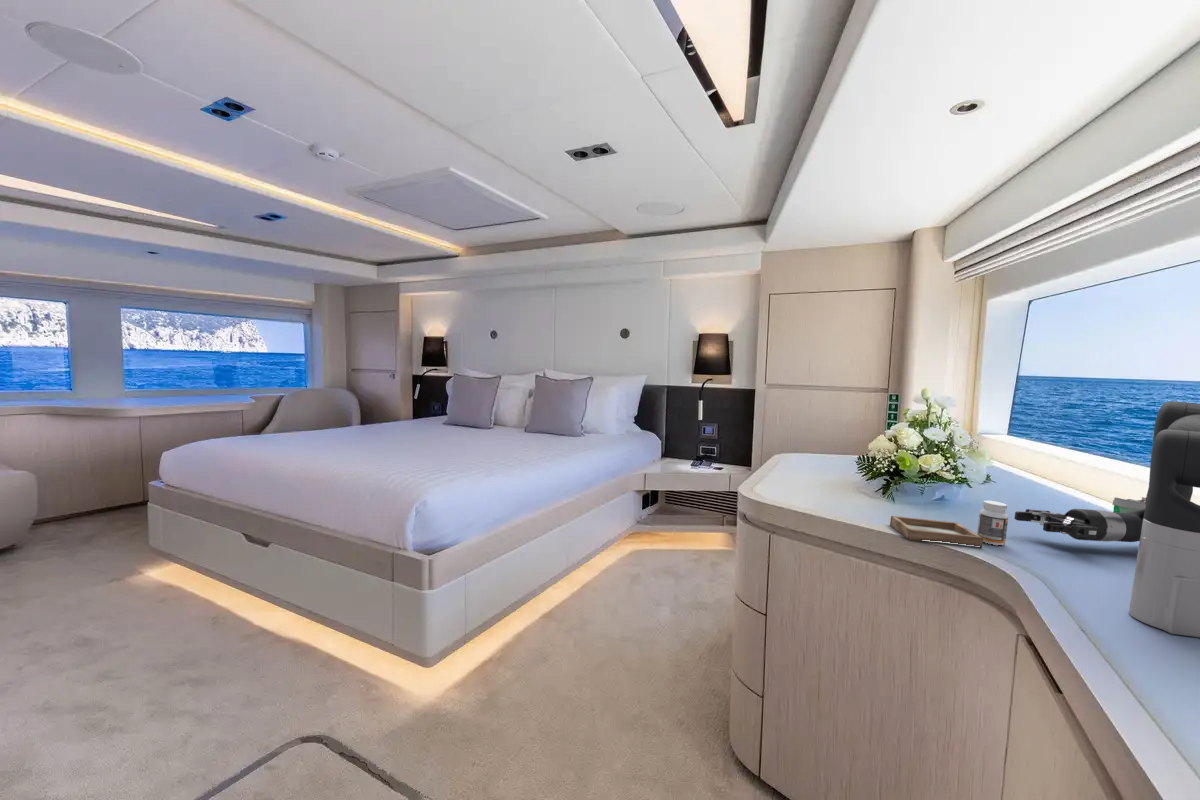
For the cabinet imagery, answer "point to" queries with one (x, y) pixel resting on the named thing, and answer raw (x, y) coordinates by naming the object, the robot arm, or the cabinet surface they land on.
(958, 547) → the cabinet surface
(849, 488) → the cabinet surface
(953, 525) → the tray
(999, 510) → the pill bottle
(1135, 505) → the food container
